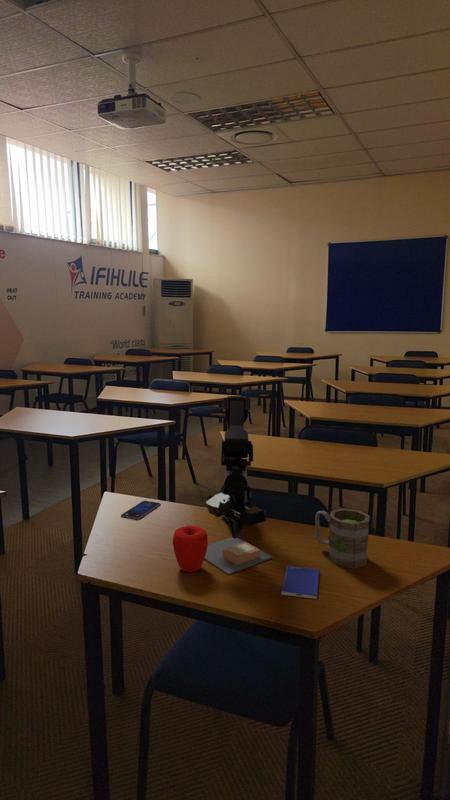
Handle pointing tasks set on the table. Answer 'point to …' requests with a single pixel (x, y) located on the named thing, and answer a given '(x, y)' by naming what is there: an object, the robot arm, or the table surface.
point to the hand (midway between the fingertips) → (235, 538)
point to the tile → (241, 553)
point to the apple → (190, 547)
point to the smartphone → (140, 510)
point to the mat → (217, 559)
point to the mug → (345, 537)
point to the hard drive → (301, 582)
